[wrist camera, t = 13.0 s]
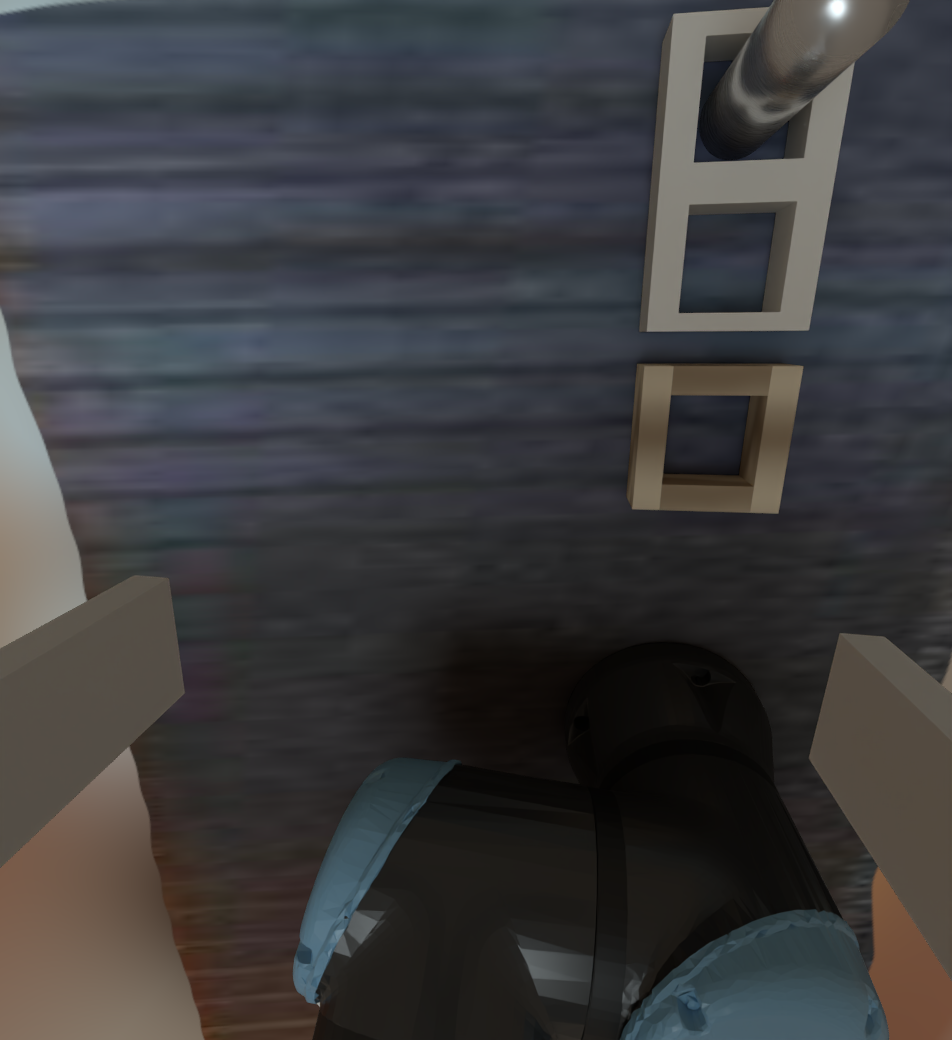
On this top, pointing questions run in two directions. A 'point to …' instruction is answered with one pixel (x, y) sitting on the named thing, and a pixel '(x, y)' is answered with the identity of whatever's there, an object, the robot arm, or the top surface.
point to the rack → (736, 183)
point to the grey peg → (789, 67)
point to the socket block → (761, 448)
